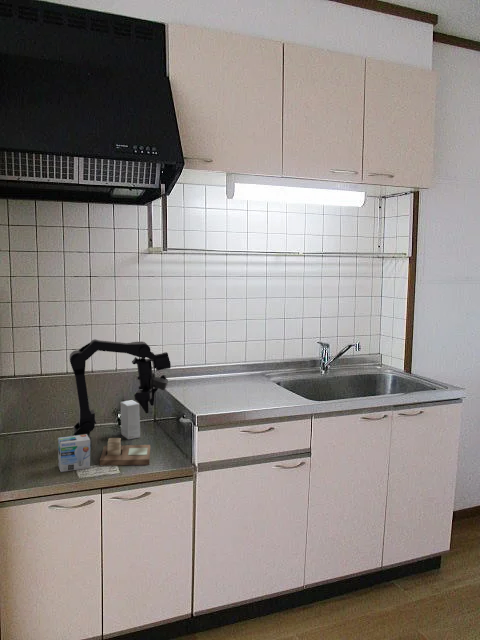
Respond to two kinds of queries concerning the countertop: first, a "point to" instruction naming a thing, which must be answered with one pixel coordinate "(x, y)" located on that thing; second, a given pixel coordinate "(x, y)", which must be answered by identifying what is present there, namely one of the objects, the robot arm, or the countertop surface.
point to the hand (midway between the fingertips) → (149, 409)
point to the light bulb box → (73, 452)
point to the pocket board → (127, 455)
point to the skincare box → (130, 419)
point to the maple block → (114, 446)
